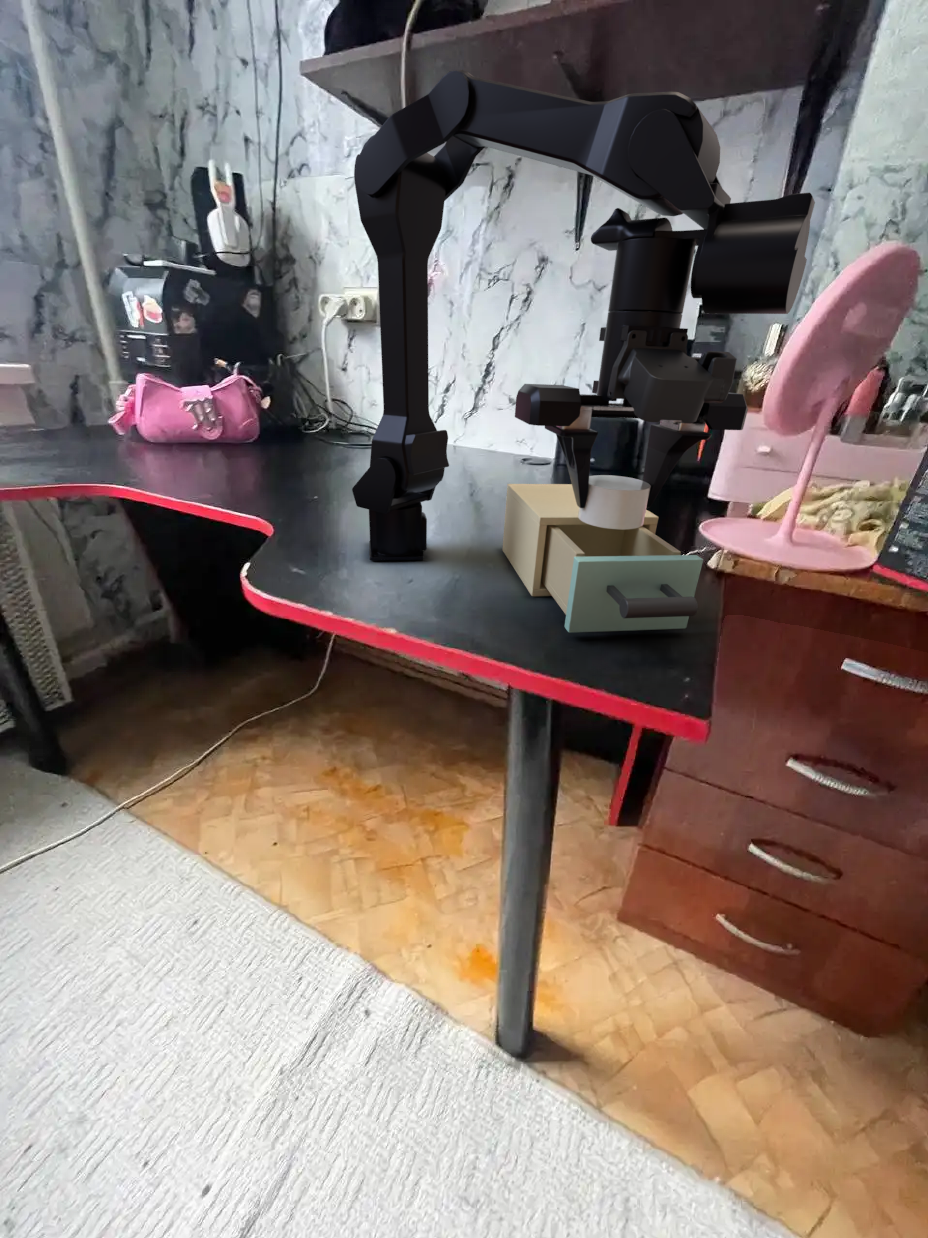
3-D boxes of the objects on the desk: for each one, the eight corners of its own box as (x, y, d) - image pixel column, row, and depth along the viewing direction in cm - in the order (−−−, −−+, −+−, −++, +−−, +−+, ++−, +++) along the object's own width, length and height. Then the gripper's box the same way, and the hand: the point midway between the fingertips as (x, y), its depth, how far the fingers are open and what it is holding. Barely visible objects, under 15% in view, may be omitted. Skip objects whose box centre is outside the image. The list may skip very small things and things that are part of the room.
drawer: (715, 654, 46) (736, 580, 43) (587, 660, 45) (599, 583, 41) (626, 574, 62) (636, 515, 59) (529, 576, 61) (535, 516, 58)
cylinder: (590, 529, 48) (596, 490, 46) (569, 510, 53) (574, 474, 52) (654, 529, 49) (662, 490, 47) (627, 511, 54) (634, 475, 53)
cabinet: (643, 593, 60) (658, 517, 56) (531, 596, 58) (540, 517, 54) (594, 549, 73) (604, 484, 69) (502, 550, 71) (507, 483, 67)
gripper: (563, 299, 35) (538, 535, 42) (822, 315, 38) (759, 533, 45) (521, 309, 45) (507, 498, 52) (729, 321, 48) (689, 499, 55)
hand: (613, 507), depth 50 cm, fingers closed on cylinder, 6 cm apart
